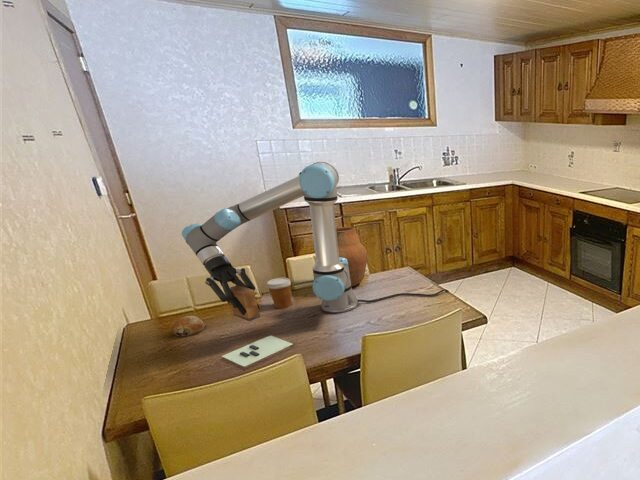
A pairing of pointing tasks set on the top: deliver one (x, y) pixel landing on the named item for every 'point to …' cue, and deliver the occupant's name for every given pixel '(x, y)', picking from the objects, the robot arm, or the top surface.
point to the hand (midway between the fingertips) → (251, 310)
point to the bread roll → (187, 326)
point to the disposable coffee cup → (280, 292)
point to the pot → (352, 252)
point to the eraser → (245, 302)
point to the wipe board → (265, 349)
